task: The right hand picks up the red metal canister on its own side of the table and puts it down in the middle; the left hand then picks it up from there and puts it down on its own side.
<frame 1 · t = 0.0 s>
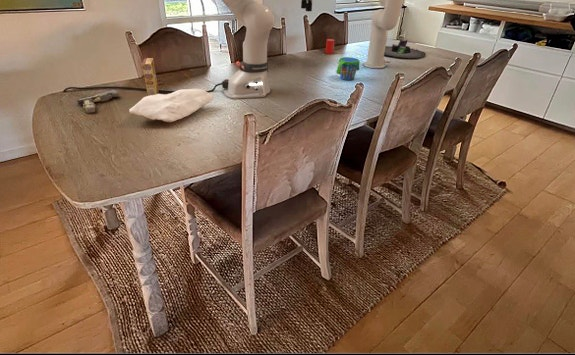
right hand: (306, 9, 196), 31 cm above the table, tool pointing down, fingers open, 9 cm apart
handgun: (101, 103, 156), on the table
crumpled cloth: (172, 113, 149), on the table
candy box: (153, 94, 167), on the table
snack cup: (347, 78, 198), on the table
canister: (329, 53, 244), on the table
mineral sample: (399, 52, 252), on the table
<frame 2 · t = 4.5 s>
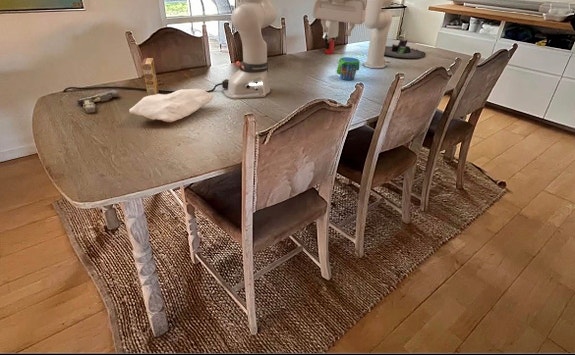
left hand: (336, 33, 138), 32 cm above the table, tool pointing down, fingers open, 8 cm apart
right hand: (329, 47, 242), 3 cm above the table, tool pointing down, fingers closed on canister, 5 cm apart
canister: (329, 53, 244), on the table, touching right hand
everything else where it was.
when the right hand's fingers open (4 cm above the table, at t = 13.5 s): canister stays where it is, on the table.
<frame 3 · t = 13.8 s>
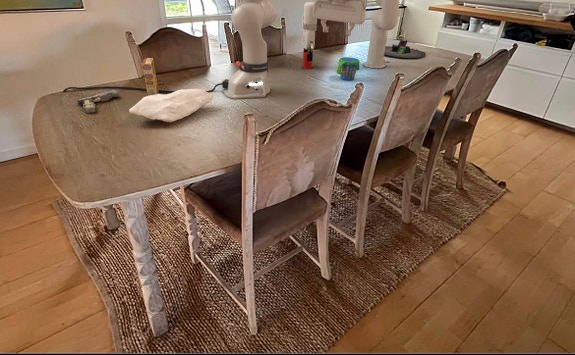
left hand: (336, 33, 138), 32 cm above the table, tool pointing down, fingers open, 8 cm apart
right hand: (307, 59, 211), 5 cm above the table, tool pointing down, fingers open, 7 cm apart
canister: (307, 67, 213), on the table
everything else where it was.
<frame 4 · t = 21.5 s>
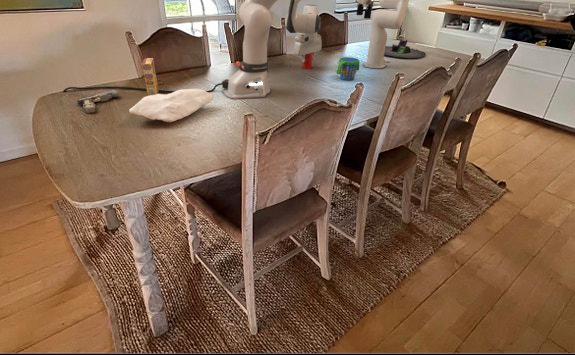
left hand: (307, 61, 211), 4 cm above the table, tool pointing down, fingers closed on canister, 5 cm apart
right hand: (363, 16, 180), 32 cm above the table, tool pointing down, fingers open, 9 cm apart
canister: (307, 67, 213), on the table, touching left hand
everything else where it was.
when the left hand's fingers open (5 cm above the table, at t = 30.1 s): canister stays where it is, on the table.
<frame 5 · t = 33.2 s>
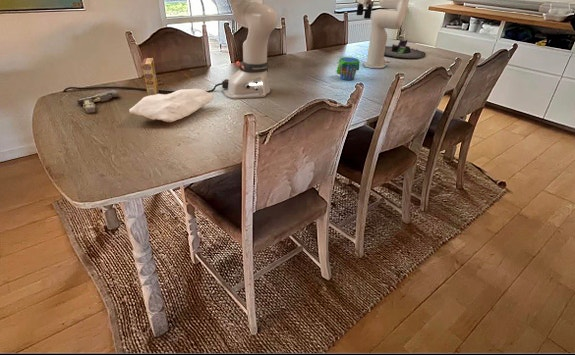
right hand: (363, 16, 180), 32 cm above the table, tool pointing down, fingers open, 9 cm apart
canister: (253, 66, 212), on the table
everything else where it was.
at the end: canister inside the target area (0.1 cm from its centre), on the table; canister tilted 0°; the two hands never held the canister at the same time; the left hand is holding nothing; the right hand is holding nothing; canister at rest at the end (0.0 cm/s) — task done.
